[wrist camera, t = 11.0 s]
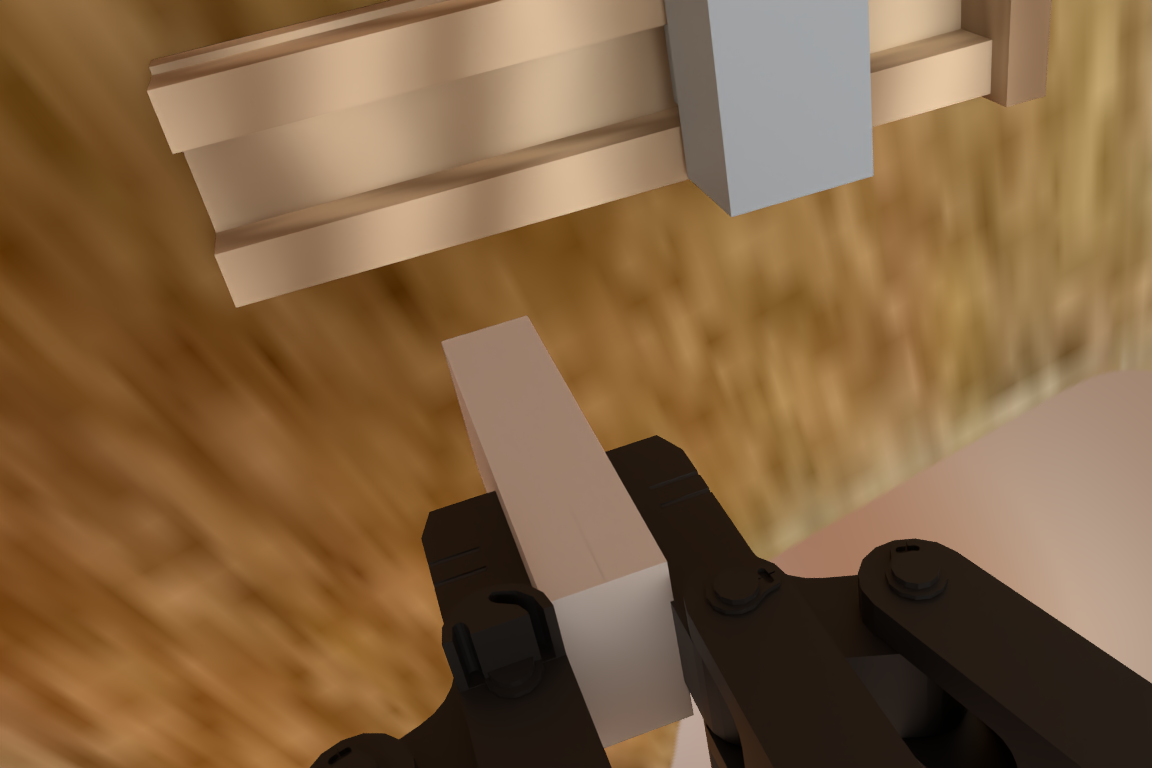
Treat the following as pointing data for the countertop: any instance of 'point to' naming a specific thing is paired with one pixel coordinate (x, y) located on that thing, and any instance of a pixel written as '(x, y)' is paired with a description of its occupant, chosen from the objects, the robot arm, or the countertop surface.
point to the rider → (771, 96)
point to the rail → (492, 119)
